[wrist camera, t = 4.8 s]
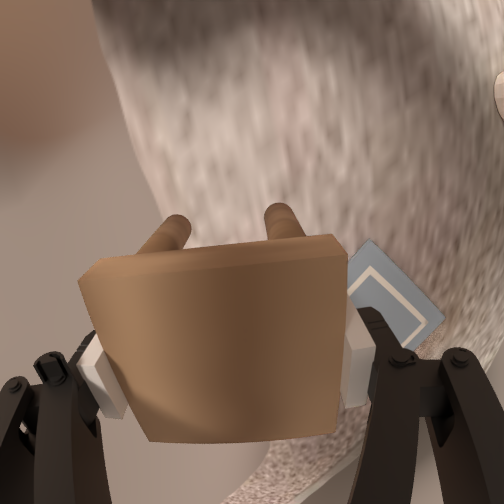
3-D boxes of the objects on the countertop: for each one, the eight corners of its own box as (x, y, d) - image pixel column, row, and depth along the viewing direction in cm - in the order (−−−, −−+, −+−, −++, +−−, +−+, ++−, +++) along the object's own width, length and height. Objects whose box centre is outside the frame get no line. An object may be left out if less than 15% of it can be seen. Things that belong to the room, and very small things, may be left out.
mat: (267, 344, 30) (268, 347, 30) (369, 238, 27) (371, 240, 26) (356, 397, 33) (357, 400, 33) (444, 315, 30) (446, 318, 29)
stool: (180, 331, 20) (149, 441, 12) (153, 210, 17) (77, 280, 9) (305, 320, 19) (335, 432, 11) (299, 193, 17) (348, 254, 8)
